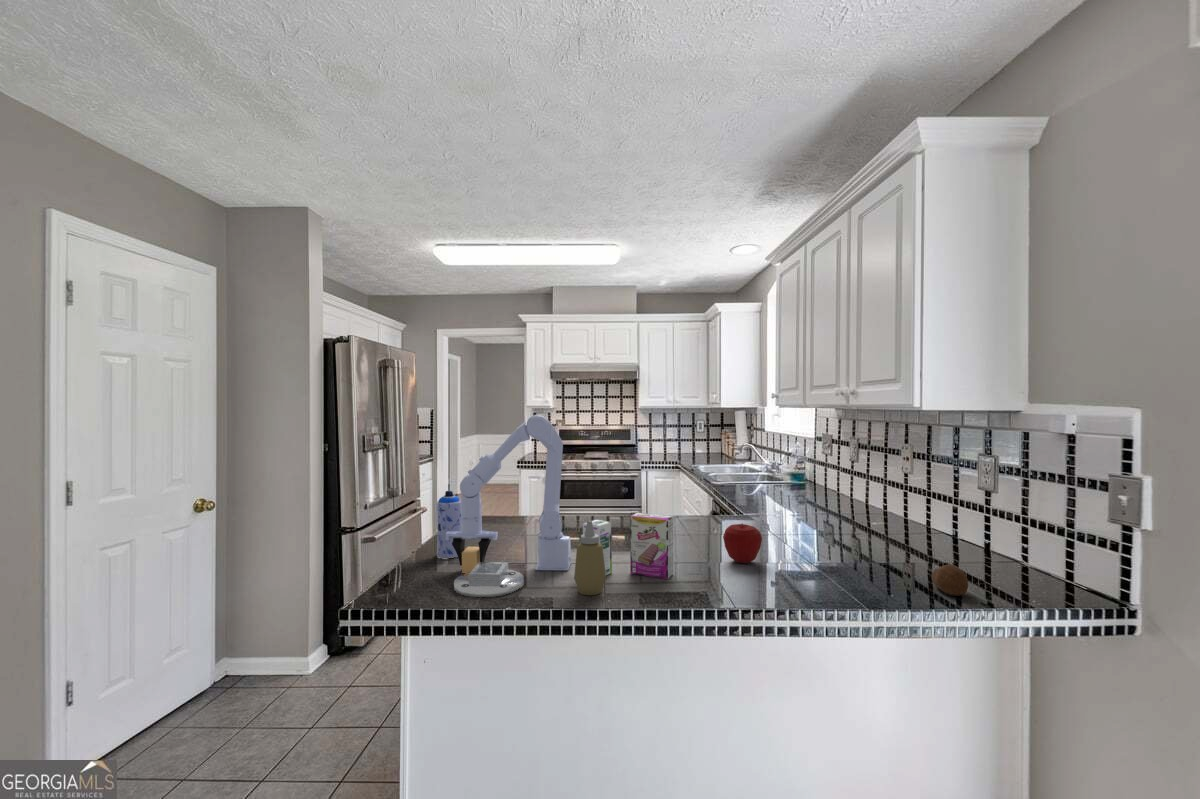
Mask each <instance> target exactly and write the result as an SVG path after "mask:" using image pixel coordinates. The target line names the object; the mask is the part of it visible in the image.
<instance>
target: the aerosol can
mask: <svg viewBox="0 0 1200 799" xmlns="http://www.w3.org/2000/svg"><path fill="white" fill-rule="evenodd" d="M461 501H462V499H460V497H459V496H456V495H455V494H454V491H452V490H446V491H445V493H444V495H443V496H442V497H440V498H439V499H438V500H437V503H436V528H437V530H436V533H437V535H436V536H437V539H436V540H437V554H436V557H437V558H438V557H440V558H453V557H458V555H457V553H456V551H455V549H454V547H453V546H452V542H453V539H450V540H446V533H447V532H450V531H461ZM440 558H439V559H440Z"/></svg>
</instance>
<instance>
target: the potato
mask: <svg viewBox="0 0 1200 799" xmlns="http://www.w3.org/2000/svg"><path fill="white" fill-rule="evenodd" d="M931 581H932V583H933V585H934V586H935V587H936V588H937V589H939V590H940V591H942V592H943V593H944V594H946V595H949V596H955V597H956V596H957V597H959V596H963V595H965V594H966V593H967V592H968V589H969V580H968V577H967V575H966V574H965V572H964V571H963V570H962V569H961V568H960V567H958V566H957V565H955V564H954V565H953V564H945V565H942V566H940V567H938V568H935V569H934V570H933V571H932V573H931Z"/></svg>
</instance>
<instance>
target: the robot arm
mask: <svg viewBox="0 0 1200 799" xmlns="http://www.w3.org/2000/svg"><path fill="white" fill-rule="evenodd" d="M531 438H533V439H535V440H537V441H539V442H540V443H541V444H542V445H543V446H544V447H545V448H546V458H545V460H546V461H545V477H544V478H545V479H544V492H543V493H544V494H543V506H542V511H541V514H540V516H539V518H538V519H539V520H538V522H539V531H540V532H539V533H537V558H538V559H537V564H536V566H535V568H534V570H535V571H569V568H570V566H571V563H572V556H571V554H572V552H571V550H572V549H571V546H572V545H571V544H572V543H571V536H568V535H564V534H563V532H562V531H563V530H562V529H563V524H562V521H561V516H560V500H561V498H560V497H561V485H562V484H561V482H562V481H561V480H562V465H563V450H564V445H563V444H564V443H563V439H562V438H561V436H560V435H559V433H558V432H557V430H556V429H555V427H554V426H553V424H552V422H551V421H550V420H549V419H547V418H546V417H545V416H543V415H542V414H533V415H531V416H530V417H529V418H528V419H527V421H524V422H523V423H521V425H519V426H518V427H517V428H516V429H515V430H514V431H512V432H511V433H510V435H509V436H508V437H507V439H505V441H504V442H503V443H502V444H501V445H500V446H499V447H498V448H497V450H495V452H494V453H491V454H490V453H488V454H485V455H483V456H481V457H480V458H479V459H478V460H479V462H477V464H476V465H475V466H474V467H473V468H472V469H469V470H468V471H467V475H466V476H464V477H463V479H462V480H461V481H460V484H459V491H460V493H461V495H460V498H461V499H460V500H461V531H450V532H447V533H446V540H450V539H453V542H452V546H453V547H454V549H455V551H456V553H457V555H458V558H457V559H458V562H459V566H461V567H462V552H463V551H464V550H465V546H466V544H465V543H466V540H479V541H478V543H477V544H478V547H479V551H480V562H485V560H486V559H485V558H486V554H487V552H488V548H489V546H490V543H491V541H497V540H498V536H499V535H498V533H499V532H498V531H492V530H491V531H488V530H483V519H482V518H483V516H482V514H483V512H482V511H483V508H482V498H481V497H482V496H481V490H482V488H483V485H487V484H488V483H489V481H491V480H492V478H493V477H495V475H496V474H497V473H498V472H499V471H500V470H501V469H502V461H503V460H504V459H505V458H506V457H507V456H508V455H509V454H510V453H511V452H512V451H513V450H514V449H515V448H516V447H517V446H519V444H520V443H523V442H526V441H530V439H531Z"/></svg>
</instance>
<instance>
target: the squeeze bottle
mask: <svg viewBox="0 0 1200 799" xmlns="http://www.w3.org/2000/svg"><path fill="white" fill-rule="evenodd" d="M592 521H593V520H587V521H586V523H587V526H586V531H585V534H583V533H582V534H581V535H580V543H578V545H576V552H575V554H576V555H575V565H574V566H575V567H574V575H573V576H574V582H575V585H576V588H577V591H578V592H579V594H581V595H584V596H596V595H599V594H601V593H602V591H603V588H604V585H605V583H606V582H605V581H606V578H607V575H606V572H605V563H604V554H603V546H602V545H601V544H600V543H598V542H599V535H597V534H595V533H594V528H593V524H592Z"/></svg>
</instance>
